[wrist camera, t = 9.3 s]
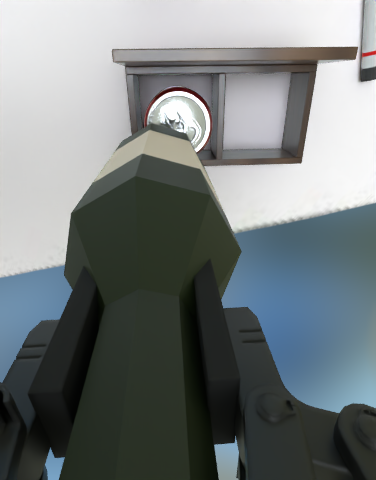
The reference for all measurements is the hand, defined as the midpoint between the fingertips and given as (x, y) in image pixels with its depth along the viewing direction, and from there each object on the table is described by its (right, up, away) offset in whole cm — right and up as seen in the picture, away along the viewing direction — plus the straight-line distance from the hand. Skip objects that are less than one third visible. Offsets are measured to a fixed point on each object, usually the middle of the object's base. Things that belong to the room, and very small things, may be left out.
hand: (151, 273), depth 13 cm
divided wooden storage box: (+5, +19, +29) cm, 35 cm away
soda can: (0, +19, +29) cm, 34 cm away
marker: (+24, +30, +24) cm, 46 cm away
